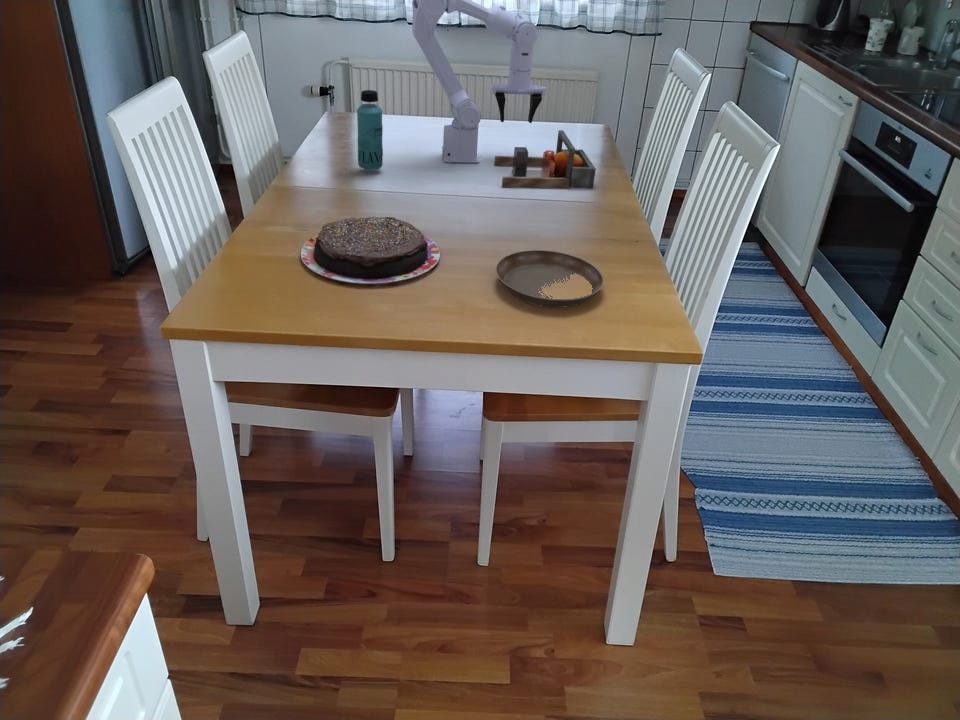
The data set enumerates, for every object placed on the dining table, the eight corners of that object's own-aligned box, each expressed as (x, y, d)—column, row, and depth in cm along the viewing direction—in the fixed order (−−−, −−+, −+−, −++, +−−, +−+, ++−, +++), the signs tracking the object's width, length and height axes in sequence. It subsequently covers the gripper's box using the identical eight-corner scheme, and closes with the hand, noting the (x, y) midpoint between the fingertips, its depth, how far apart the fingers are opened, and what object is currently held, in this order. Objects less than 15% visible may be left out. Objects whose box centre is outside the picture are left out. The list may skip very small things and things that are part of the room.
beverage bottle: (353, 173, 191) (351, 92, 180) (363, 165, 196) (361, 86, 185) (378, 177, 190) (376, 95, 179) (387, 169, 195) (386, 89, 184)
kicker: (516, 182, 192) (518, 155, 188) (510, 169, 201) (512, 143, 197) (555, 183, 194) (558, 156, 190) (548, 170, 202) (551, 144, 198)
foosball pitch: (502, 187, 189) (505, 147, 183) (494, 164, 203) (497, 127, 198) (593, 189, 192) (599, 150, 186) (579, 166, 206) (584, 130, 200)
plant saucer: (613, 279, 150) (616, 264, 148) (583, 325, 134) (585, 308, 132) (517, 256, 156) (519, 241, 154) (477, 297, 140) (478, 281, 138)
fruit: (545, 176, 194) (552, 145, 193) (550, 183, 201) (557, 153, 201) (575, 181, 191) (582, 150, 191) (579, 188, 199) (586, 158, 199)
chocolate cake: (373, 219, 168) (373, 191, 165) (468, 258, 154) (470, 229, 150) (271, 256, 150) (268, 225, 146) (368, 305, 135) (367, 272, 132)
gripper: (494, 71, 192) (491, 125, 200) (550, 73, 194) (544, 126, 201) (491, 65, 198) (488, 117, 205) (545, 67, 200) (540, 119, 207)
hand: (516, 121), depth 204 cm, fingers open, 7 cm apart
